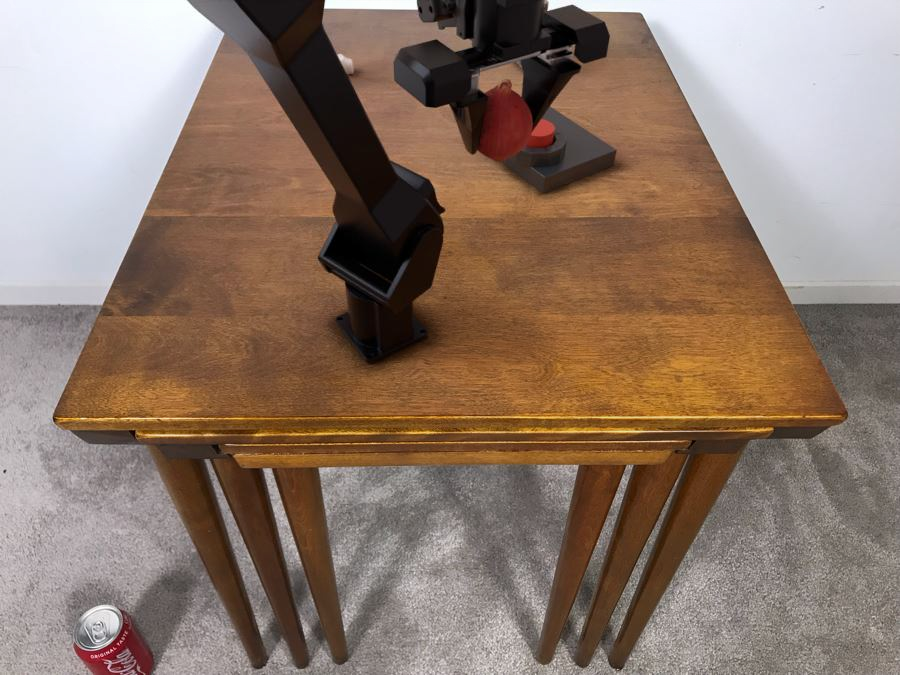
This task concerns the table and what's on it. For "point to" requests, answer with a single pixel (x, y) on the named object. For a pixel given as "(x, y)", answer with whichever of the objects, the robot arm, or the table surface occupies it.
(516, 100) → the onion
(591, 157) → the console
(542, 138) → the button
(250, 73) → the table surface
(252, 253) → the table surface
